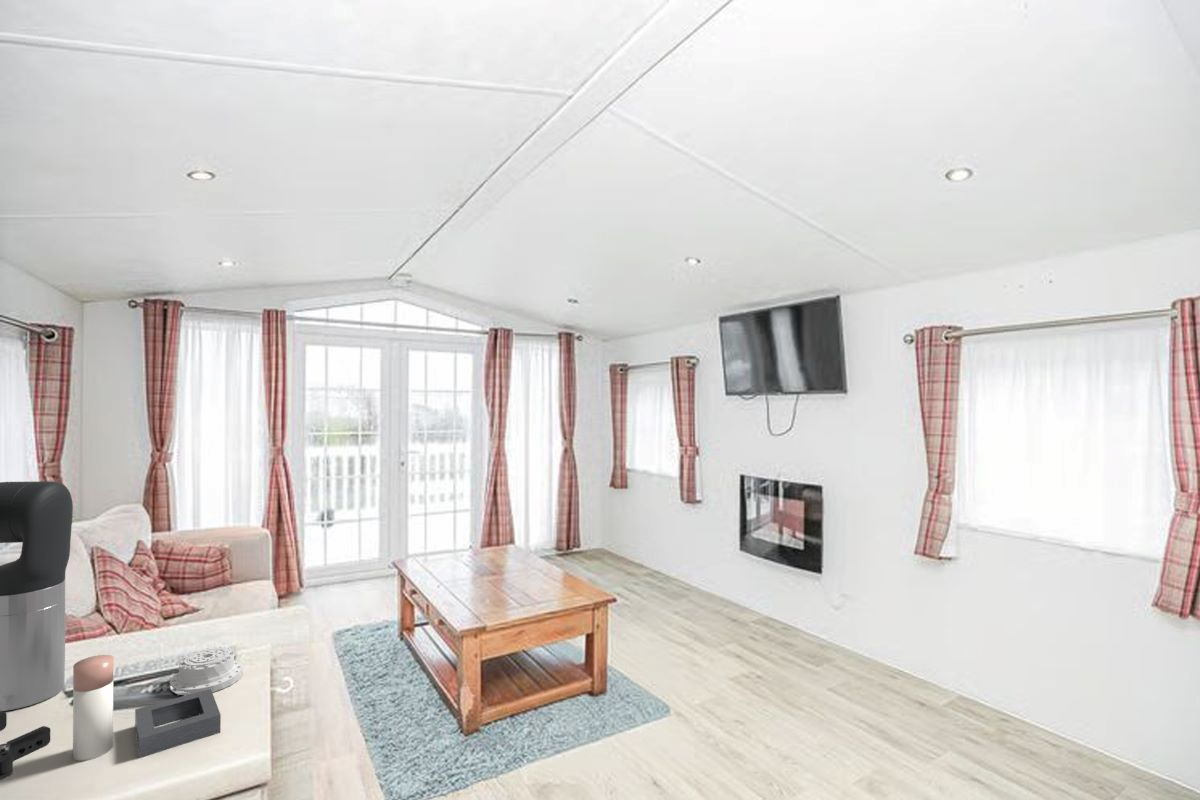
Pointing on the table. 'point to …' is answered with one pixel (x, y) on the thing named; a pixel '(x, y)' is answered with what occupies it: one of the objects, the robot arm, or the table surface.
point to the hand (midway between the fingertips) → (26, 726)
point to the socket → (178, 731)
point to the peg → (92, 707)
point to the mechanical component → (207, 671)
